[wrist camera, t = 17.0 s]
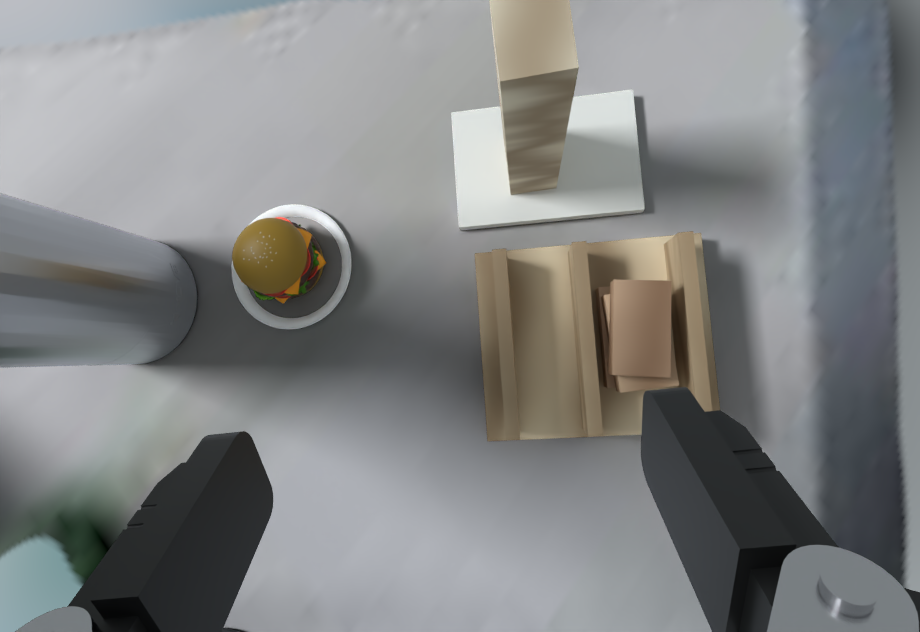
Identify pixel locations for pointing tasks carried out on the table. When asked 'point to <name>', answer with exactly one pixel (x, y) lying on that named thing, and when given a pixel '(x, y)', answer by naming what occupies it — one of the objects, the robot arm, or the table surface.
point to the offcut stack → (636, 335)
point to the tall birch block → (534, 87)
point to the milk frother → (228, 630)
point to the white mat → (581, 171)
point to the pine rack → (581, 334)
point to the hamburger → (285, 263)
